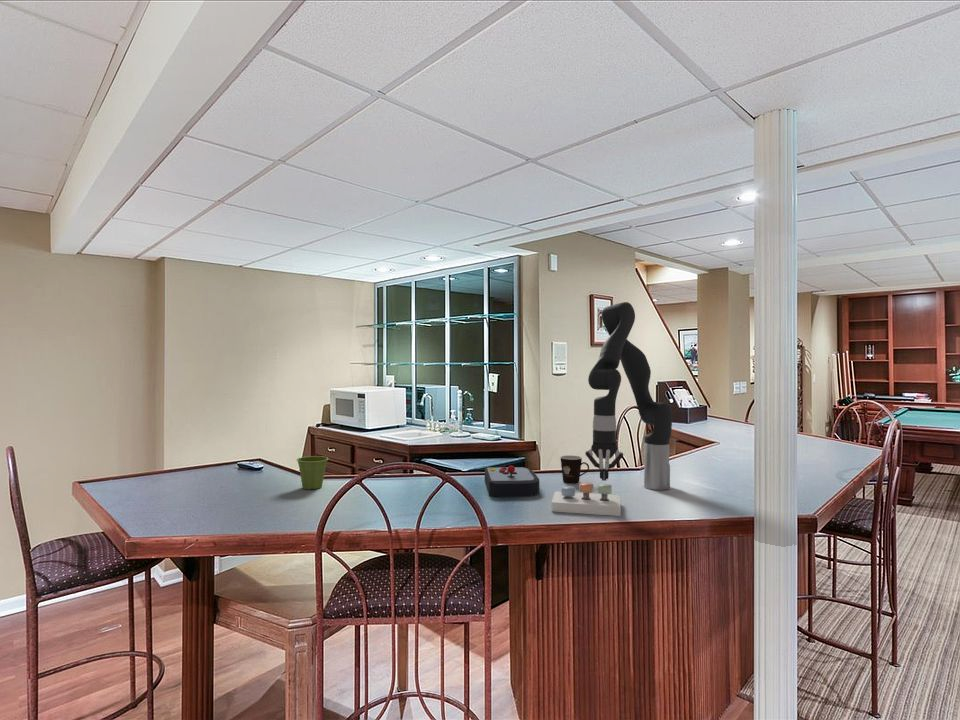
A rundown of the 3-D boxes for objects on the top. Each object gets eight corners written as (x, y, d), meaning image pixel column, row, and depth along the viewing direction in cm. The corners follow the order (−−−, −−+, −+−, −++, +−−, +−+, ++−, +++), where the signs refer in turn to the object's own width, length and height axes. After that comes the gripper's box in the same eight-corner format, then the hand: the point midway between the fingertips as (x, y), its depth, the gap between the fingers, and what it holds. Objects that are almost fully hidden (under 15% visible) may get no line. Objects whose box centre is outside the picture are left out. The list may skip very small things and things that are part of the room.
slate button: (575, 502, 181) (575, 486, 180) (574, 506, 176) (574, 489, 176) (561, 501, 182) (561, 485, 181) (560, 505, 177) (560, 489, 177)
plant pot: (323, 491, 198) (323, 461, 197) (291, 491, 198) (291, 461, 198) (332, 484, 209) (332, 455, 209) (302, 483, 210) (302, 455, 210)
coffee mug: (556, 480, 215) (556, 456, 215) (573, 478, 219) (573, 454, 219) (572, 487, 205) (572, 461, 205) (590, 484, 208) (590, 459, 208)
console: (619, 503, 182) (619, 495, 182) (620, 515, 168) (620, 506, 168) (555, 499, 187) (555, 491, 187) (551, 511, 173) (551, 502, 173)
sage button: (611, 500, 178) (611, 483, 178) (611, 504, 173) (611, 487, 173) (597, 499, 179) (597, 483, 179) (597, 503, 174) (597, 486, 174)
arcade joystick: (542, 497, 191) (542, 470, 191) (489, 498, 190) (489, 470, 190) (530, 479, 219) (530, 455, 219) (484, 480, 218) (484, 456, 218)
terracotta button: (593, 499, 179) (593, 482, 179) (593, 503, 175) (593, 486, 175) (579, 498, 180) (579, 482, 180) (578, 502, 176) (579, 485, 176)
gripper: (624, 427, 178) (624, 478, 178) (584, 426, 181) (584, 476, 181) (625, 430, 171) (624, 483, 171) (583, 429, 174) (583, 481, 174)
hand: (604, 480), depth 176 cm, fingers closed
